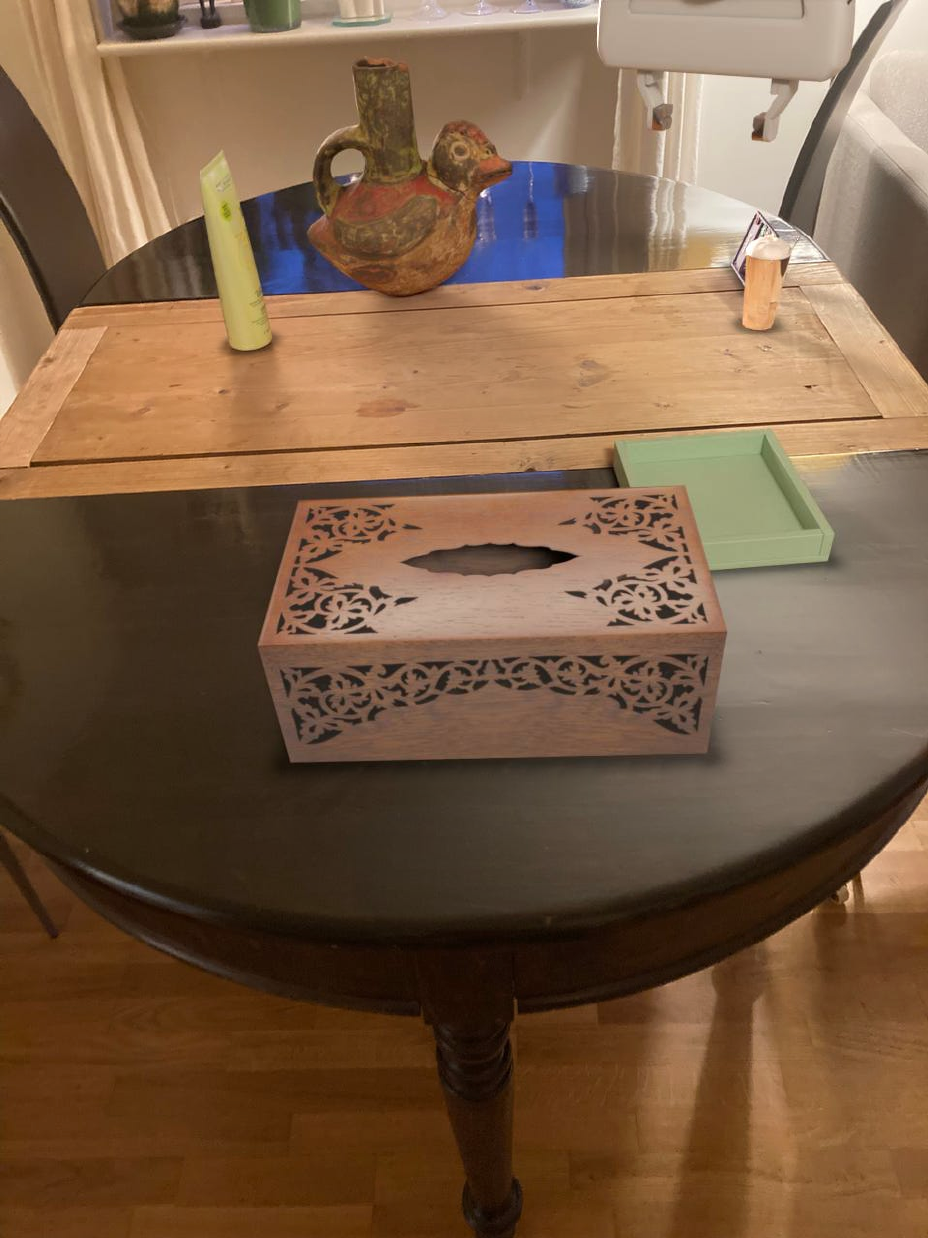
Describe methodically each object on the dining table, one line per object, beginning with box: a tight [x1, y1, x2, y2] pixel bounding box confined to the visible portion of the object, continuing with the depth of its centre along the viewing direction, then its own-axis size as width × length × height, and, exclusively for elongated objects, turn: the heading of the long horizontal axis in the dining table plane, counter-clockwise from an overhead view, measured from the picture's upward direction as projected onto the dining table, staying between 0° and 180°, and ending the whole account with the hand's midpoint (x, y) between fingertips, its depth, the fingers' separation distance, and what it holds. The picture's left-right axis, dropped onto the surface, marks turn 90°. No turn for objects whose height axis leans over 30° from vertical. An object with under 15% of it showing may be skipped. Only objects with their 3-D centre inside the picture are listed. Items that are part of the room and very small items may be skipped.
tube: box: [199, 149, 273, 352], centre depth 99 cm, size 6×5×20 cm
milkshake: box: [742, 235, 802, 331], centre depth 98 cm, size 4×5×10 cm
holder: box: [612, 428, 836, 571], centre depth 75 cm, size 14×16×3 cm
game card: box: [730, 210, 780, 287], centre depth 109 cm, size 7×5×9 cm
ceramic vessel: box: [306, 55, 514, 296], centre depth 107 cm, size 17×26×25 cm, turn 80°
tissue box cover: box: [257, 485, 728, 763], centre depth 59 cm, size 26×14×10 cm, turn 89°
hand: (709, 134), depth 77 cm, fingers open, 8 cm apart
